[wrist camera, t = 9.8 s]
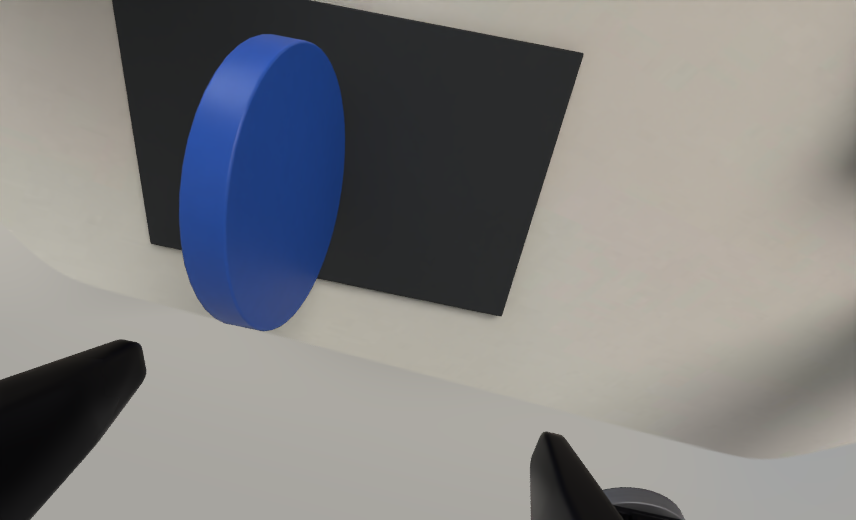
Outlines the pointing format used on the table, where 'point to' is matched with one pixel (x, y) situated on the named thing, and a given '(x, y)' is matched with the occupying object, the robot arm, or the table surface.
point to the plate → (262, 181)
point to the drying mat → (373, 135)
